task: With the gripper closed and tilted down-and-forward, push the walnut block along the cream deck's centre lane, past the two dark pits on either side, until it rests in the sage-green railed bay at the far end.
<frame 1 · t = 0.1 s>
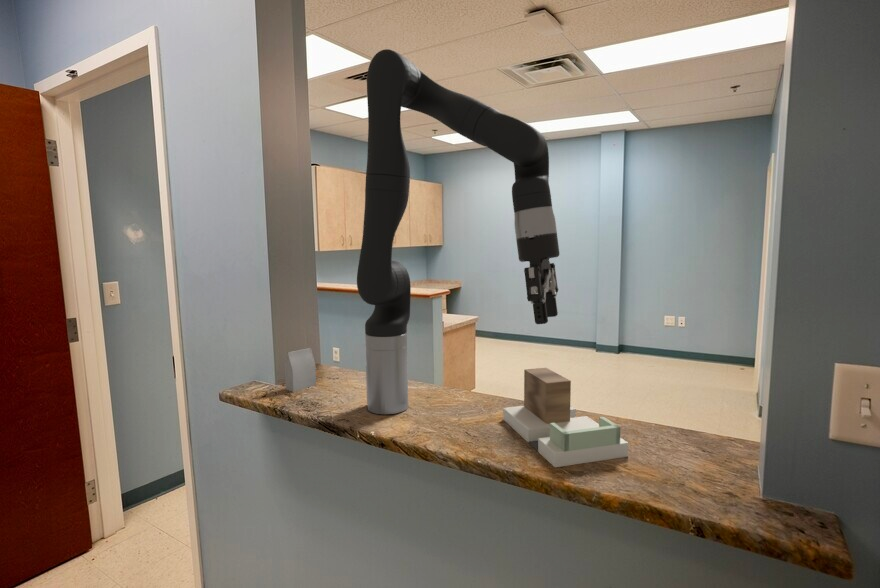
hand: (547, 320, 88), 22 cm above the countertop, tool pointing down, fingers open, 8 cm apart
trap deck: (559, 436, 89), on the countertop
walnut block: (546, 413, 94), point 2 cm above the countertop, touching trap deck
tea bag: (301, 388, 122), on the countertop
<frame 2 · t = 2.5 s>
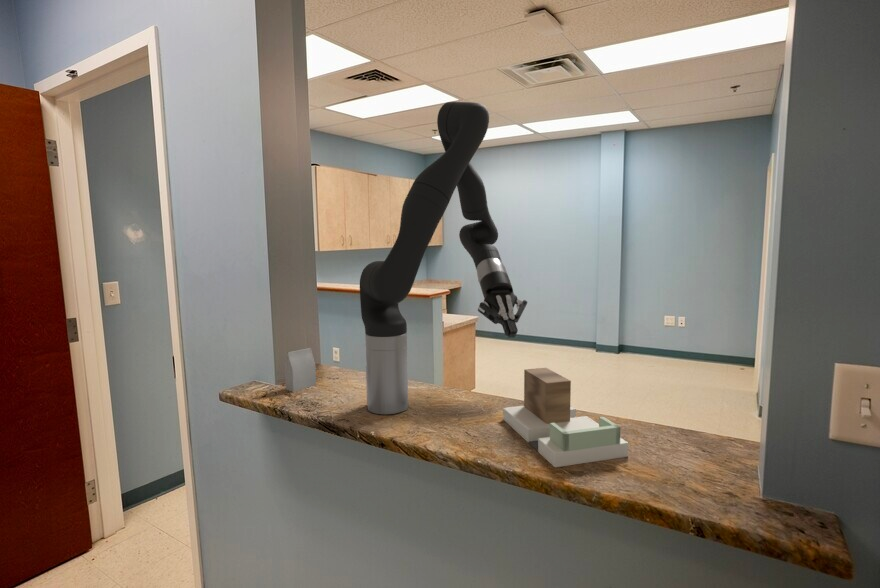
hand: (512, 335, 109), 15 cm above the countertop, tool tilted 45°, fingers closed
nothing on the countertop moved.
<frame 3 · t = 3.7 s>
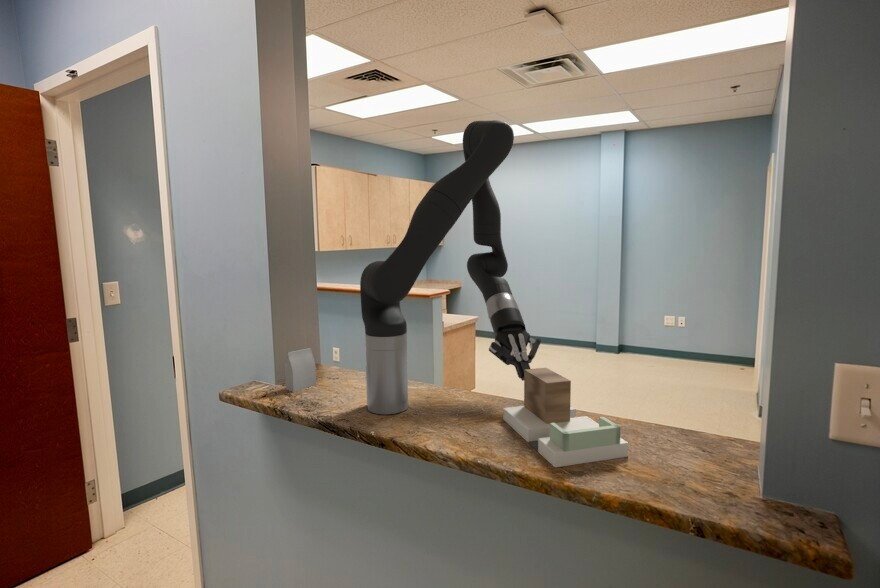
hand: (526, 378, 103), 7 cm above the countertop, tool tilted 45°, fingers closed
nothing on the countertop moved.
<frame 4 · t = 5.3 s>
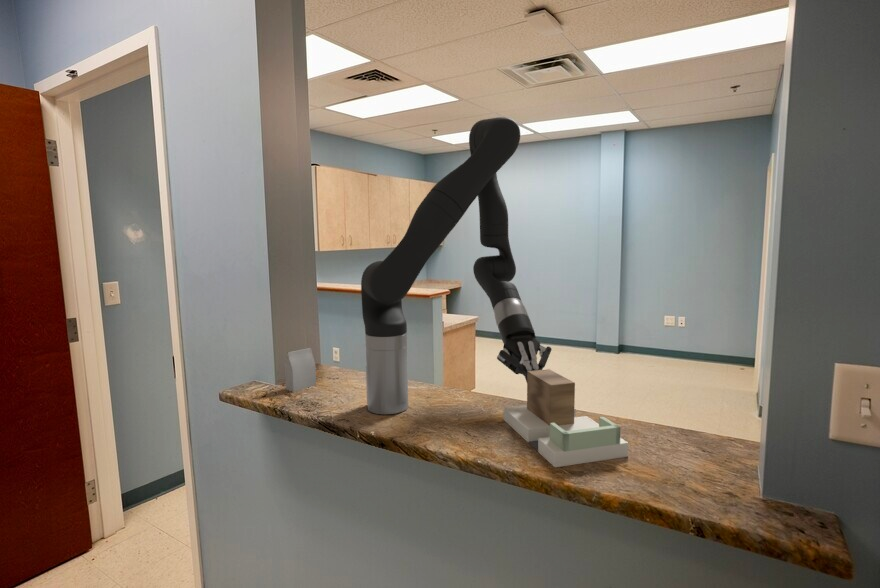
hand: (537, 388, 98), 6 cm above the countertop, tool tilted 45°, fingers closed
walnut block: (549, 415, 93), point 2 cm above the countertop, touching gripper, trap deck
everything else where it was.
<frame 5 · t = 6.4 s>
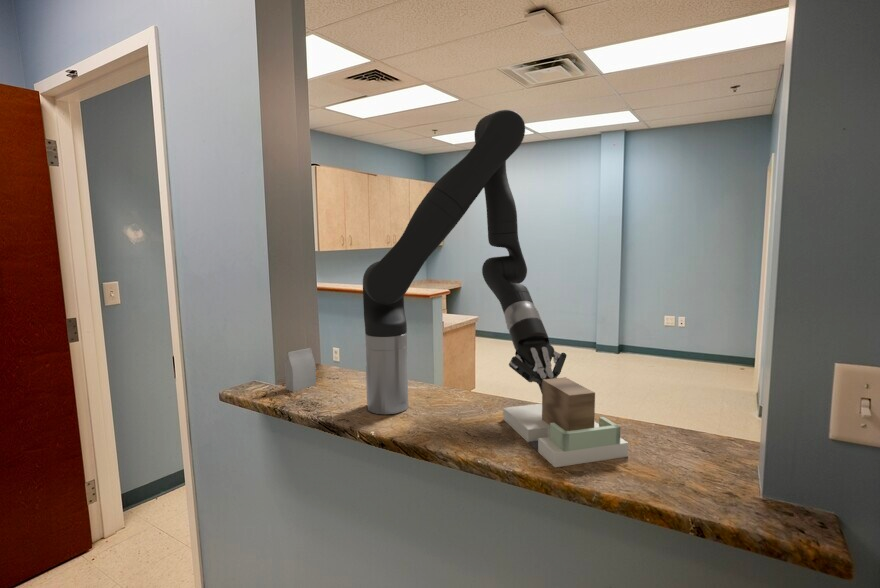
hand: (552, 398, 92), 6 cm above the countertop, tool tilted 45°, fingers closed
walnut block: (566, 427, 87), point 3 cm above the countertop, touching gripper
everything else where it was.
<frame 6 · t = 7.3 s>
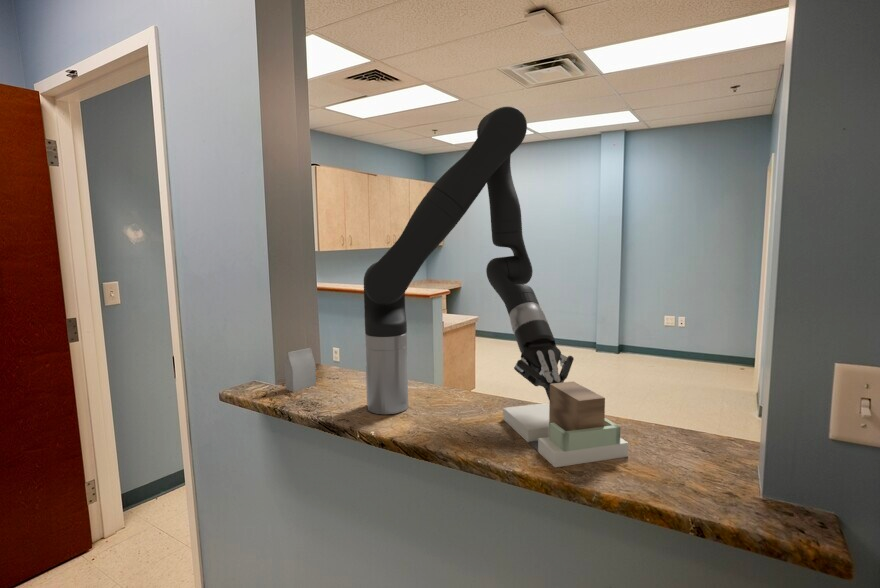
hand: (559, 402, 89), 6 cm above the countertop, tool tilted 45°, fingers closed
walnut block: (575, 433, 84), point 2 cm above the countertop, touching gripper, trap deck
everything else where it was.
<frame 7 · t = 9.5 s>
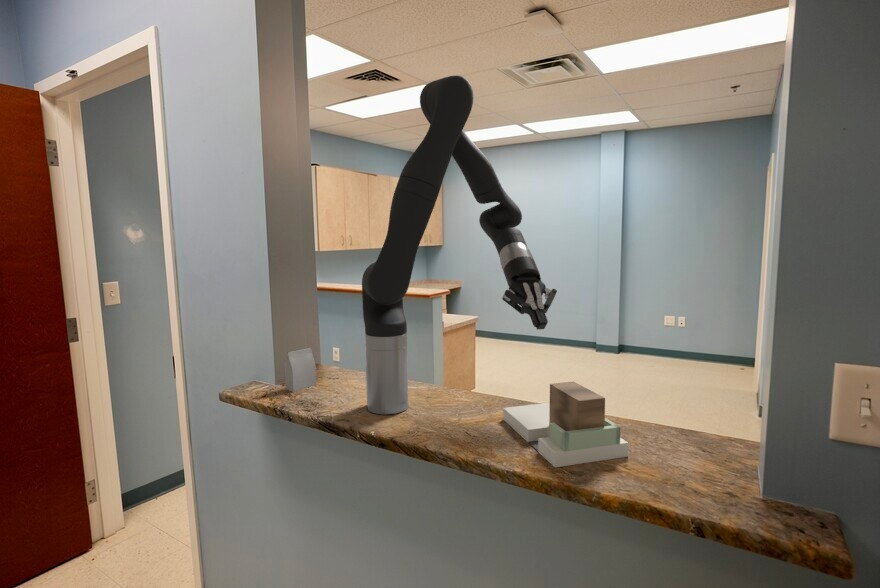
hand: (542, 327, 98), 19 cm above the countertop, tool tilted 45°, fingers closed
walnut block: (575, 433, 84), point 2 cm above the countertop, touching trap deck
everything else where it was.
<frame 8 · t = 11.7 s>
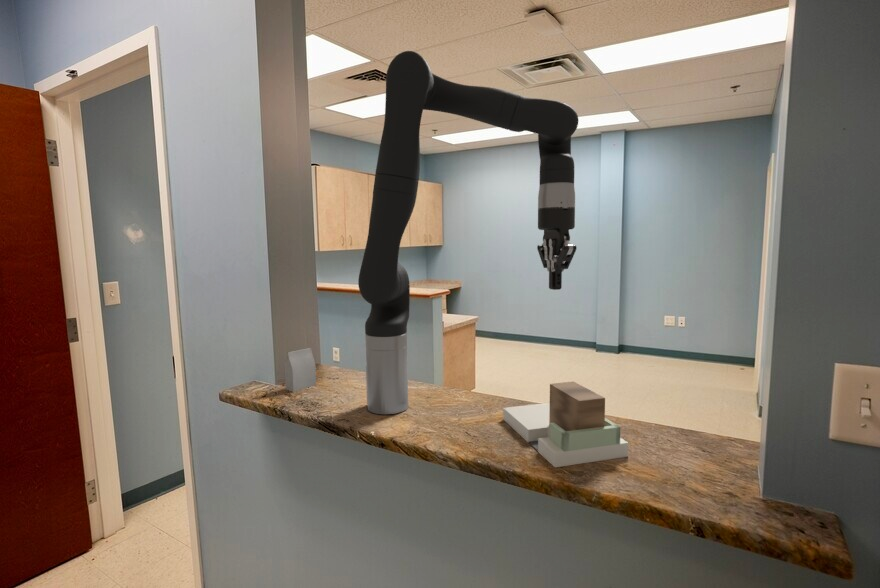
hand: (555, 289, 99), 27 cm above the countertop, tool pointing down, fingers closed
nothing on the countertop moved.
at the end: walnut block inside the target area (0.3 cm from its centre), point 2.5 cm above the countertop; walnut block tilted 0° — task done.
